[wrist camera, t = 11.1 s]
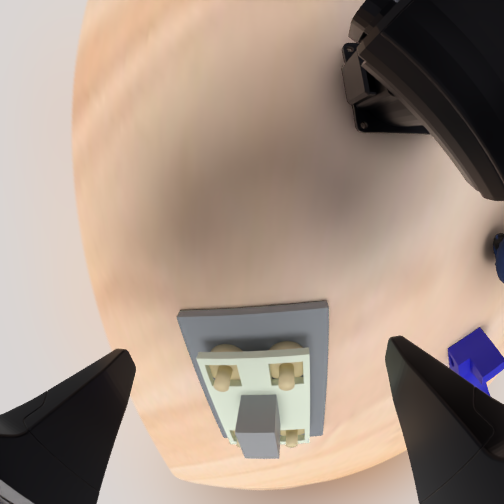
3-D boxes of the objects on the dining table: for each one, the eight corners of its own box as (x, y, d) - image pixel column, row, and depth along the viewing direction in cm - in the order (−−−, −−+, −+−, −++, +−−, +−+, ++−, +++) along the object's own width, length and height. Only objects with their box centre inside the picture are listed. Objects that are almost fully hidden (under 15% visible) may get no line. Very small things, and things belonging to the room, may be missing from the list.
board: (308, 347, 20) (313, 395, 15) (309, 437, 24) (310, 473, 20) (198, 352, 21) (182, 396, 16) (231, 438, 26) (225, 473, 21)
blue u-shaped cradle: (446, 347, 22) (470, 386, 16) (478, 326, 21) (505, 360, 15) (451, 398, 25) (465, 431, 20) (477, 382, 24) (494, 412, 18)
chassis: (326, 300, 21) (335, 336, 17) (321, 428, 27) (324, 458, 23) (180, 310, 22) (161, 343, 18) (225, 431, 29) (219, 460, 25)
